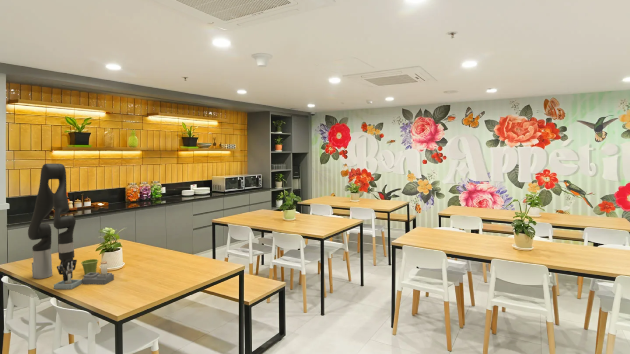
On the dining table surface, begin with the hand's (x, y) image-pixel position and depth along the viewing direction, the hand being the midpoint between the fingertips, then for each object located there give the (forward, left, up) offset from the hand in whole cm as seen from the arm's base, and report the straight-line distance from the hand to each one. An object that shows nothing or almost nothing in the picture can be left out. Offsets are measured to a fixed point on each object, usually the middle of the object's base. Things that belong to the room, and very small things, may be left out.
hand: (67, 279), depth 217 cm
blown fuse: (0, 0, -2) cm, 2 cm away
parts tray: (0, 0, -4) cm, 4 cm away
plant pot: (-1, +21, -4) cm, 21 cm away
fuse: (+16, +9, -1) cm, 19 cm away
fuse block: (+12, +9, -4) cm, 16 cm away
